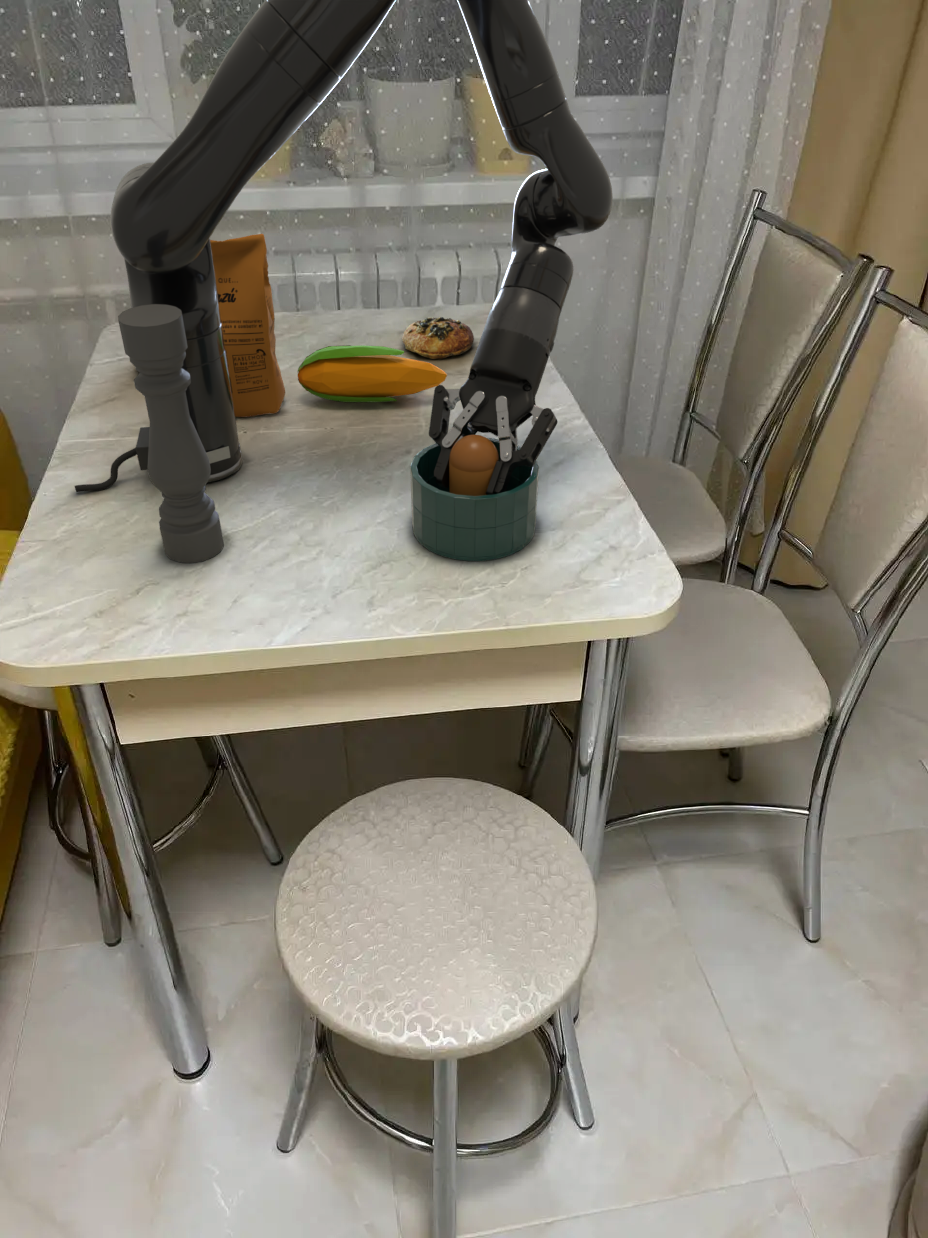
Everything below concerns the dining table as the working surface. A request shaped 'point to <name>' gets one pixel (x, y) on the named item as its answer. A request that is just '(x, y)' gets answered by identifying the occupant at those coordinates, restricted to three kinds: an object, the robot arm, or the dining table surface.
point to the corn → (365, 374)
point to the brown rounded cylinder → (471, 465)
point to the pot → (472, 512)
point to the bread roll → (438, 337)
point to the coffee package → (248, 324)
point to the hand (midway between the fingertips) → (466, 491)
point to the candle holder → (172, 432)
